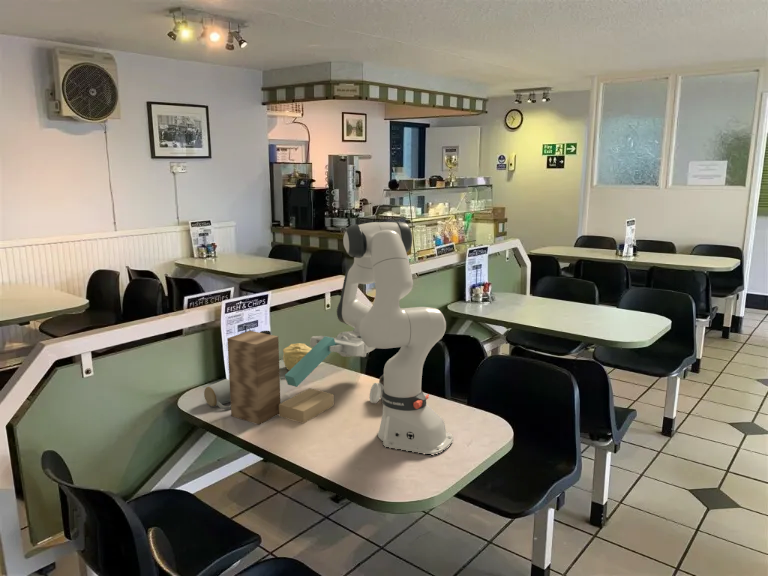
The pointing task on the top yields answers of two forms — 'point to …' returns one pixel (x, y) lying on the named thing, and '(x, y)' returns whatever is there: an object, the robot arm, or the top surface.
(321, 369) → the top surface
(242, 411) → the walnut stand
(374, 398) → the spread jar
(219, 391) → the ceramic mug
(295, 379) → the teal carton
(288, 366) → the sculpture
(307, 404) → the kraft parcel
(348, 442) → the top surface
